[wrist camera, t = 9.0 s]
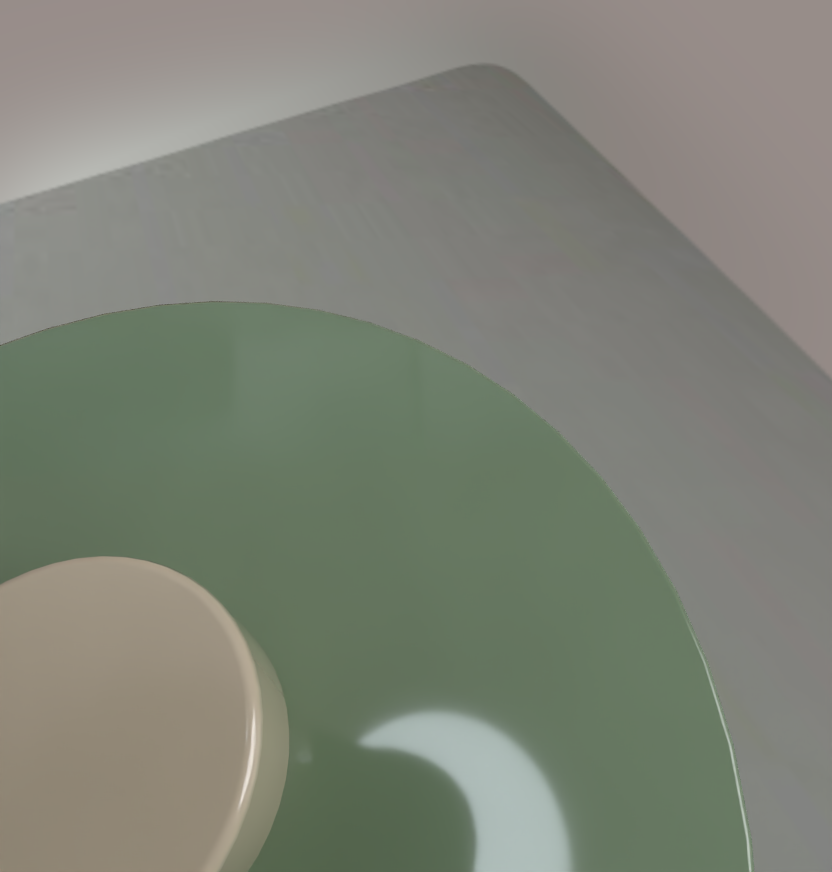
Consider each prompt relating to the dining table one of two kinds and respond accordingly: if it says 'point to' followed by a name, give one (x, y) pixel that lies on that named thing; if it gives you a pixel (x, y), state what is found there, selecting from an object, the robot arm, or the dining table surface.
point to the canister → (330, 617)
